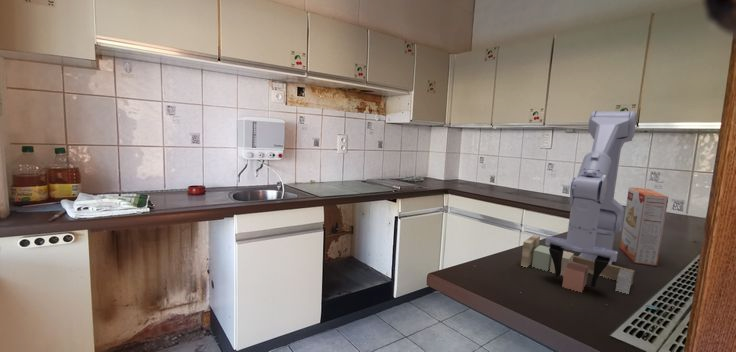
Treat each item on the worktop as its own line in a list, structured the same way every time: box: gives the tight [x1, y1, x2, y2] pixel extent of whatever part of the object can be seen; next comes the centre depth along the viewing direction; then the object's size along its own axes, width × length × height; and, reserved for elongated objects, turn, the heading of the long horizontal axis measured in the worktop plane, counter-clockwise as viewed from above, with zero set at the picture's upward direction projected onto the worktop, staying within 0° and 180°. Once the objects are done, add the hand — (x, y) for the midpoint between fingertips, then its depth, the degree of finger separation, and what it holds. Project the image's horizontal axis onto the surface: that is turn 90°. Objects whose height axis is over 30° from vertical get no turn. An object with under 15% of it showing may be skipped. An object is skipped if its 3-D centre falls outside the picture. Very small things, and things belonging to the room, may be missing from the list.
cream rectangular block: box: [549, 250, 575, 277], centre depth 90 cm, size 6×4×5 cm, turn 138°
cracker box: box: [619, 187, 669, 267], centre depth 102 cm, size 14×6×21 cm, turn 157°
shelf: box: [520, 234, 635, 286], centre depth 88 cm, size 10×24×7 cm, turn 48°
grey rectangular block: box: [614, 269, 633, 295], centre depth 81 cm, size 6×2×4 cm, turn 138°
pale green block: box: [531, 244, 552, 272], centre depth 93 cm, size 6×4×5 cm, turn 138°
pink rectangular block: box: [561, 261, 589, 294], centre depth 81 cm, size 6×4×5 cm, turn 138°
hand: (574, 280), depth 81 cm, fingers open, 7 cm apart
